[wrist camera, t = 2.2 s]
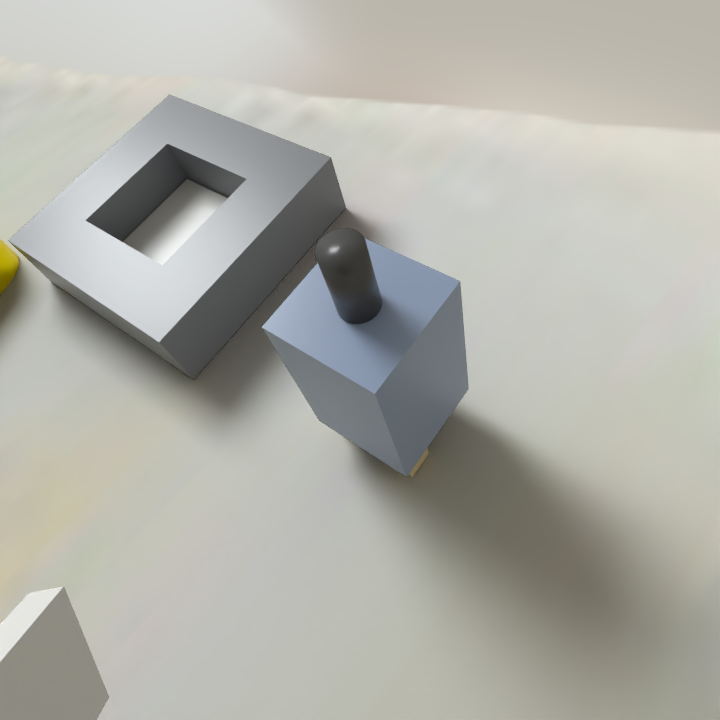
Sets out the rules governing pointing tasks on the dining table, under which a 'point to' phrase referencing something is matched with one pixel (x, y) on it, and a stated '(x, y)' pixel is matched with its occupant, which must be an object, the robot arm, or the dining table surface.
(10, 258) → the element tile
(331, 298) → the plug
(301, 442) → the dining table surface
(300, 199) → the socket
